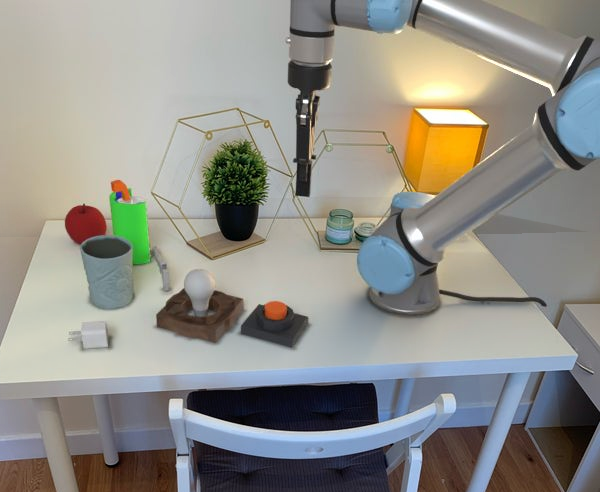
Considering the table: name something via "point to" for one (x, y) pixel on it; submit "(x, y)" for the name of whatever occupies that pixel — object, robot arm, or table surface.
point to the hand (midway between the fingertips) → (302, 194)
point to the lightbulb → (199, 290)
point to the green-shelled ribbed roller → (130, 220)
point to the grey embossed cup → (108, 270)
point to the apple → (84, 223)
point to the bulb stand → (200, 327)
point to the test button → (275, 310)
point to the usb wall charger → (92, 335)
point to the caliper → (162, 268)
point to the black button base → (275, 327)
